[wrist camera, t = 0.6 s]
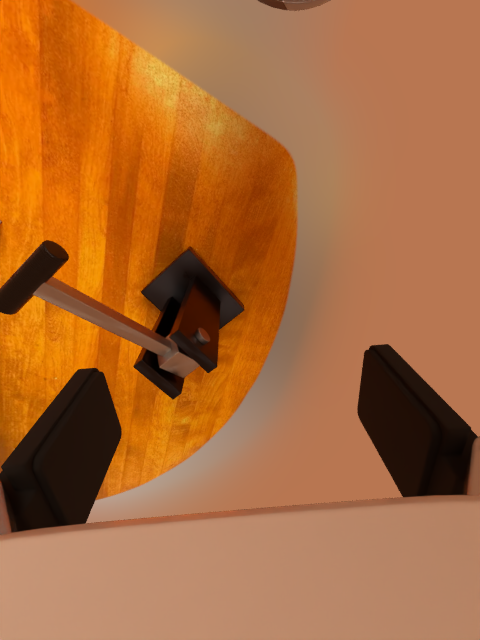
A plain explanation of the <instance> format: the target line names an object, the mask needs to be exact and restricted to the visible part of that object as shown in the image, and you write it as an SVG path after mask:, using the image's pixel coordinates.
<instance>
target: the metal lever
mask: <svg viewBox="0 0 480 640" xmlns="http://www.w3.org/2000/svg"><path fill="white" fill-rule="evenodd" d="M68 259H69V256H68V254H67V252H66V251H65V250H64V249H63V248H62V247H61V246H60V245H58V244H57V243H55V242H53V241H49V240H46V241H44V242H43V243H42V244H41V245H40V246H39V247H38V248H37V249H36V250H35V251H34V252H33V253H32V255H31V256H30V257H29V258H28V259H27V260H26V261H25V262H24V263H23V264H22V265H21V267H20V268H19V269H18V270H17V271H16V272H15V273H14V274H13V275H12V276H11V277H10V279H9V280H8V281H7V282H6V283H5V284H4V285H3V286H2V287H1V288H0V312H1V313H4V314H9V315H11V314H15V313H17V312H18V311H19V310H20V309H21V308H22V307H23V306H24V305H25V304H26V303H27V302H28V301H29V300H30V299H31V298H32V297H33V296H34V295H35V296H37V297H39V298H41V299H43V300H46V301H48V302H50V303H52V304H54V305H56V306H58V307H60V308H62V309H64V310H66V311H68V312H71V313H73V314H75V315H77V316H79V317H81V318H83V319H85V320H87V321H89V322H91V323H93V324H96V325H98V326H100V327H102V328H104V329H106V330H108V331H110V332H112V333H114V334H116V335H118V336H121V337H123V338H125V339H127V340H129V341H131V342H133V343H135V344H137V345H139V346H141V347H143V348H146V349H148V350H150V351H152V352H154V353H156V354H157V357H158V363H159V367H160V368H162V369H164V370H166V371H168V372H171V373H173V374H175V375H177V376H180V377H182V378H184V377H186V376H187V375H188V374H189V373H191V372H192V371H193V370H195V369H196V368H197V367H199V366H200V365H199V364H198V363H196V362H195V361H194V360H193V359H192V358H191V357H190V356H189V355H188V354H187V353H186V352H185V351H183V350H182V349H181V348H180V347H179V346H178V345H177V344H176V343H175V342H174V341H173V340H171V339H170V338H169V336H170V335H168V336H167V337H166V338H164V337H163V336H161V335H159V334H157V333H155V332H153V331H152V330H150V329H148V328H146V327H144V326H142V325H140V324H139V323H137V322H135V321H133V320H131V319H129V318H128V317H126V316H124V315H122V314H120V313H118V312H117V311H115V310H113V309H111V308H109V307H107V306H105V305H104V304H102V303H100V302H98V301H96V300H94V299H93V298H91V297H89V296H87V295H85V294H83V293H82V292H80V291H78V290H76V289H74V288H72V287H70V286H69V285H67V284H65V283H63V282H61V281H59V280H58V279H56V278H54V277H52V276H53V275H54V274H55V273H56V272H57V271H58V270H59V269H60V268H61V267H62V266H63V265H64V264H65V263H66V262H67V261H68Z"/></svg>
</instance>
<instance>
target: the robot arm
mask: <svg viewBox="0 0 480 640" xmlns="http://www.w3.org/2000/svg"><path fill="white" fill-rule="evenodd" d="M358 416H359V418H360V420H361V422H362V424H363V426H364V428H365V430H366V431H367V433H368V435H369V436H370V438H371V440H372V442H373V444H374V446H375V448H376V449H377V451H378V453H379V455H380V457H381V458H382V460H383V462H384V464H385V466H386V467H387V469H388V471H389V473H390V474H391V476H392V478H393V480H394V482H395V484H396V485H397V487H398V489H399V491H400V493H401V494H402V496H403V497H400V498H383V499H371V500H356V501H344V502H331V503H318V504H305V505H292V506H281V507H268V508H256V509H244V510H233V511H220V512H208V513H197V514H185V515H175V516H163V517H151V518H141V519H129V520H118V521H107V522H96V523H87V524H85V523H86V521H87V519H88V516H89V514H90V511H91V509H92V506H93V504H94V502H95V499H96V497H97V494H98V492H99V490H100V487H101V485H102V482H103V480H104V477H105V475H106V473H107V470H108V468H109V465H110V463H111V461H112V458H113V456H114V453H115V451H116V448H117V446H118V444H119V441H120V439H121V426H120V423H119V420H118V417H117V413H116V410H115V407H114V404H113V401H112V398H111V395H110V391H109V388H108V385H107V382H106V379H105V376H104V373H103V372H99V370H98V369H97V368H89V369H79V370H77V371H76V373H75V374H74V375H73V376H72V378H71V379H70V380H69V381H68V383H67V384H66V385H65V386H64V388H63V389H62V390H61V391H60V393H59V394H58V395H57V397H56V398H55V399H54V400H53V402H52V403H51V404H50V405H49V407H48V408H47V409H46V410H45V412H44V413H43V414H42V416H41V417H40V418H39V419H38V421H37V422H36V423H35V424H34V426H33V427H32V428H31V429H30V431H29V432H28V433H27V434H26V436H25V437H24V438H23V440H22V441H21V442H20V443H19V445H18V446H17V447H16V448H15V450H14V451H13V452H12V453H11V455H10V456H9V457H8V459H7V460H6V461H5V462H4V464H3V465H2V466H1V468H2V469H3V471H2V472H1V473H0V640H480V437H478V436H477V435H476V434H475V433H474V432H473V431H472V430H471V427H470V426H469V425H468V424H467V423H466V422H465V421H464V420H463V419H462V418H461V417H460V416H459V415H458V414H457V413H456V412H455V411H454V410H453V409H452V408H451V407H450V406H449V405H448V404H447V403H446V402H445V401H444V400H443V399H442V398H441V397H440V396H439V395H438V394H437V393H436V392H435V391H434V390H433V389H432V388H431V387H430V386H429V385H428V384H427V383H426V382H425V381H424V380H423V379H422V378H421V377H420V376H419V375H418V374H417V373H416V372H415V371H414V370H413V369H412V368H411V366H410V365H409V364H408V363H407V362H406V361H405V360H403V358H402V357H401V356H400V355H399V354H398V353H397V352H396V351H395V350H394V349H393V348H392V347H391V346H389V345H388V344H385V345H372V346H370V348H369V350H366V351H365V353H364V360H363V368H362V376H361V384H360V392H359V401H358Z"/></svg>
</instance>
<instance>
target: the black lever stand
mask: <svg viewBox="0 0 480 640" xmlns="http://www.w3.org/2000/svg"><path fill="white" fill-rule="evenodd" d="M141 293H142V294H143V295H144V296H145V297H146V298H147V299H148V300H149V301H151V302H152V303H153V304H154V305H155V306H156V307H157V308H158V309H159V310H160V311H161V313H160V315H159V317H158V319H157V321H156V323H155V325H154V327H153V329H152V331H153V332H155V333H157V334H159V335H161V336H163V337H164V338H166V337H167V336H168V335H170V336H169V338H170V339H171V340H173V341H174V342H175V343H176V344H177V345H178V346H179V347H180V348H181V349H182V350H183V351H185V352H186V353H187V354H188V355H189V356H190V357H191V358H192V359H193V360H194V361H195V362H196V363H198V364H199V365H200V366H201V367H202V368H203V369H204V370H205V371H206V372H207V373H209V372H211V371H212V370H213V369H215V368H216V367H217V361H218V342H219V330H220V329H221V328H222V327H223V326H225V325H226V324H227V323H228V322H230V321H231V320H232V319H234V318H235V317H236V316H237V315H239V314H240V313H241V312H242V311H244V305H243V304H242V303H241V302H240V301H239V300H238V299H237V297H236V296H235V295H234V294H233V293H232V292H231V291H230V290H229V289H228V288H227V286H226V285H225V284H224V283H223V282H222V281H221V280H220V279H219V278H218V277H217V276H216V274H215V273H214V272H213V271H212V270H211V269H210V268H209V267H208V266H207V265H206V263H205V262H204V261H203V260H202V259H201V258H200V257H199V256H198V255H197V254H196V252H195V251H194V250H193V249H192V248H191V247H189V248H188V249H187V250H185V251H184V252H183V253H182V254H181V255H180V256H179V257H178V258H177V259H176V260H174V261H173V262H172V263H171V264H170V265H169V266H168V267H167V268H166V269H164V270H163V271H162V272H161V273H160V274H159V275H158V276H157V277H156V278H155V279H153V280H152V281H151V282H150V283H149V284H148V285H147V286H146V287H145V288H144V289H143V290H142V291H141ZM133 367H134V368H135V369H137V370H138V371H139V372H140V373H141V374H143V375H144V376H145V377H146V378H147V379H149V380H150V381H151V382H152V383H154V384H155V385H156V386H157V387H158V388H160V389H161V390H162V391H163V392H164V393H166V394H167V395H168V396H169V397H171V398H172V399H174V398H176V397H177V396H178V395H180V394H181V392H182V388H183V383H184V378H185V377H184V378H182V377H180V376H177V375H175V374H173V373H171V372H168V371H166V370H164V369H162V368H160V367H159V363H158V357H157V354H156V353H154V352H152V351H150V350H148V349H146V348H142V350H141V352H140V354H139V356H138V358H137V360H136V362H135V364H134V366H133Z"/></svg>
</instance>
